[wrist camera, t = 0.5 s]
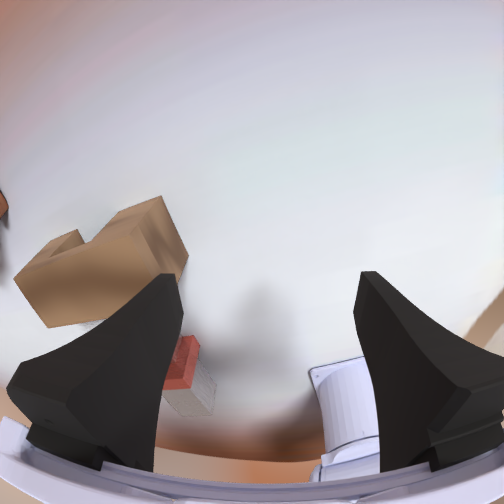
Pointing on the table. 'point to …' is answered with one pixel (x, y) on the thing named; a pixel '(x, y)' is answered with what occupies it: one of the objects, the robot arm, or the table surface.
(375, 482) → the robot arm
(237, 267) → the table surface
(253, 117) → the table surface
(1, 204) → the brown ringed sculpture
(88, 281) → the walnut block
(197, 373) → the grey and red block
